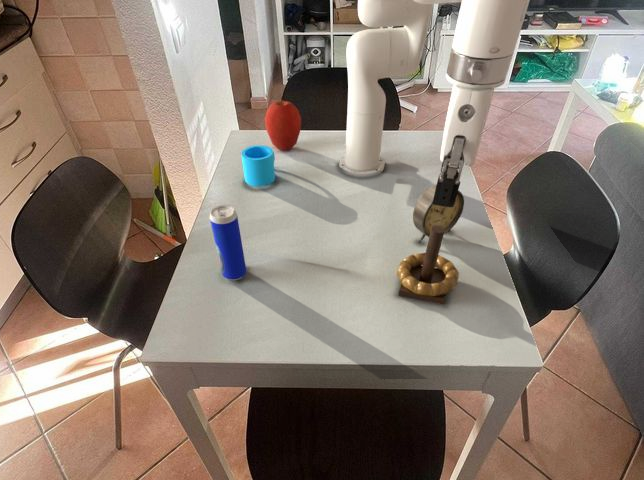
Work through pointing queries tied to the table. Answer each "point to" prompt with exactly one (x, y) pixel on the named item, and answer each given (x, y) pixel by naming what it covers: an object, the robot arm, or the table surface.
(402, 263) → the ring
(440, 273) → the stand
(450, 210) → the alarm clock
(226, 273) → the beverage can
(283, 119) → the apple
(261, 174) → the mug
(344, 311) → the table surface
